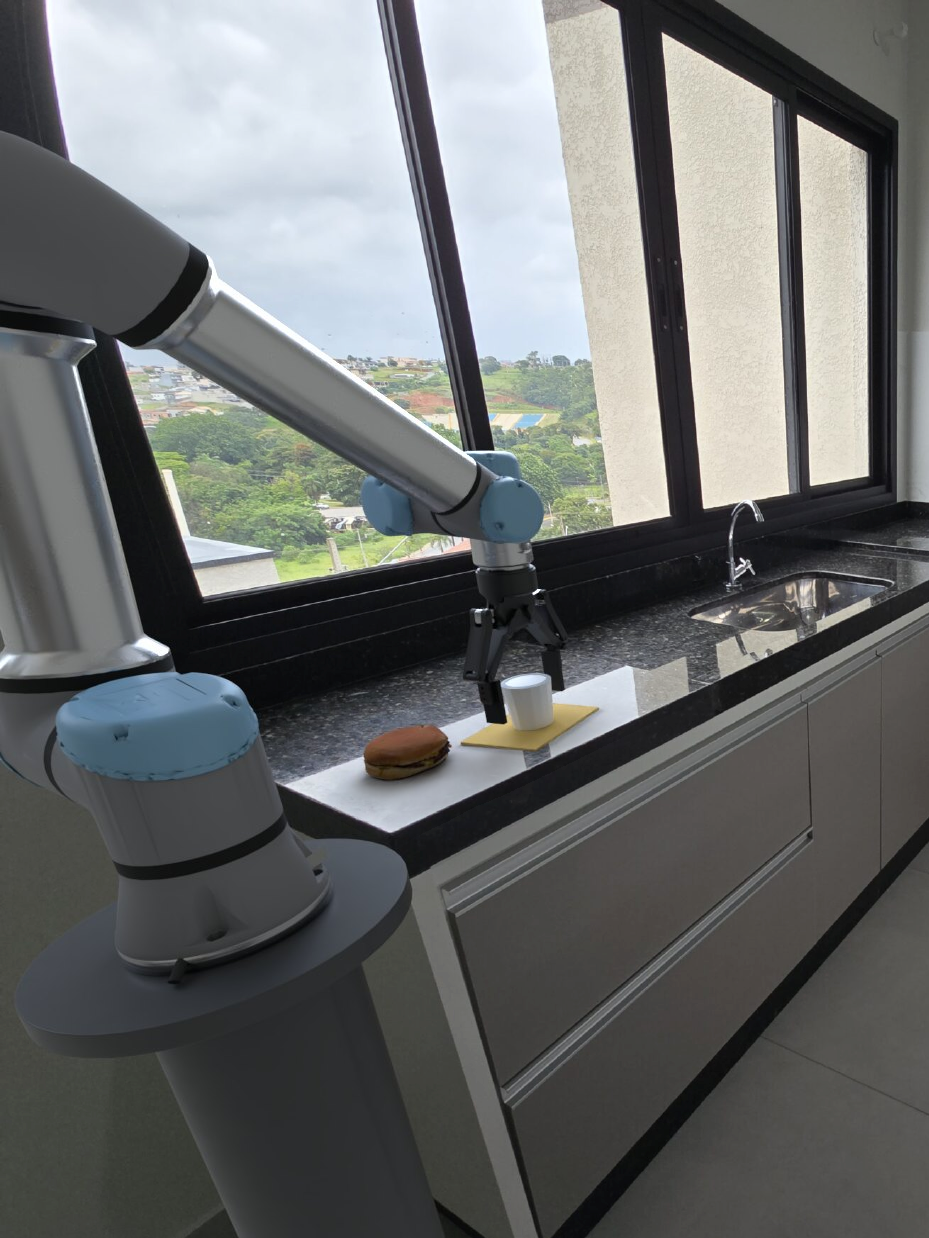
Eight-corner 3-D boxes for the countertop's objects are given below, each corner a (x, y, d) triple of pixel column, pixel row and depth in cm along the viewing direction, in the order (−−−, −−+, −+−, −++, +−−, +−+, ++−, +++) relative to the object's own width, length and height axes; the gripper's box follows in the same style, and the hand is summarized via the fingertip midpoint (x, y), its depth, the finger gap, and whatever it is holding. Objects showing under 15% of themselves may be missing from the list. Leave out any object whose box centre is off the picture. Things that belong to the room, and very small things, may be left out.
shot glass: (525, 736, 109) (516, 691, 106) (499, 725, 112) (490, 682, 110) (567, 720, 114) (560, 677, 112) (541, 710, 118) (534, 669, 115)
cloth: (536, 752, 105) (535, 749, 105) (460, 744, 107) (460, 742, 107) (599, 709, 120) (598, 706, 120) (531, 703, 122) (531, 701, 121)
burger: (353, 783, 96) (344, 750, 94) (388, 752, 104) (380, 722, 103) (436, 778, 97) (429, 746, 95) (464, 748, 106) (457, 718, 104)
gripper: (464, 585, 92) (493, 741, 100) (580, 551, 115) (597, 680, 123) (411, 582, 94) (443, 736, 101) (537, 549, 117) (556, 676, 124)
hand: (528, 705), depth 112 cm, fingers open, 13 cm apart
